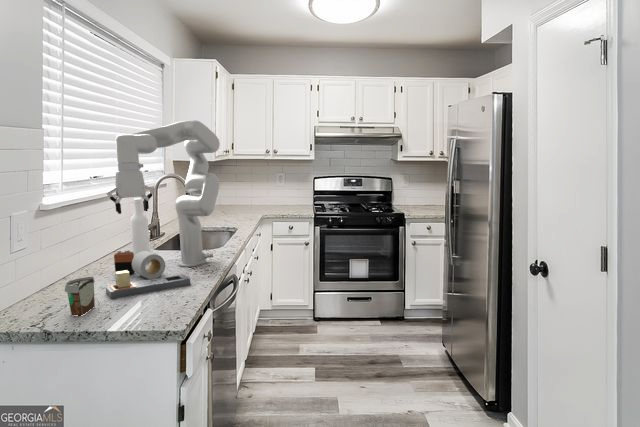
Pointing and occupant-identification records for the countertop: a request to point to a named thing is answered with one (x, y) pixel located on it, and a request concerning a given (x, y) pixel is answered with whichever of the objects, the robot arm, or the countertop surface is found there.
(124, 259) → the battery
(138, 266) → the toilet paper
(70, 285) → the food container
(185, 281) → the rail
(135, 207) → the bottle
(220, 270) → the countertop surface
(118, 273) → the tan wooden block
